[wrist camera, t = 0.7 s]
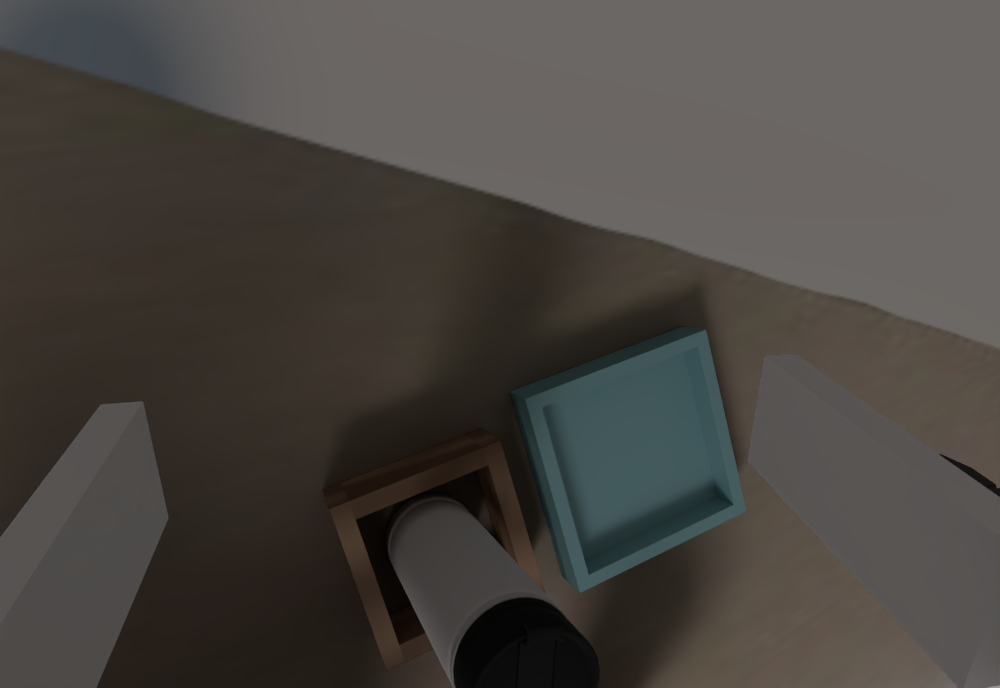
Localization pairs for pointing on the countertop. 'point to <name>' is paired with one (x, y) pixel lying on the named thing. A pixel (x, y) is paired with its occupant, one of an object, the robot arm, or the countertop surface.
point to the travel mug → (482, 603)
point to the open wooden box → (408, 478)
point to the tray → (630, 454)
